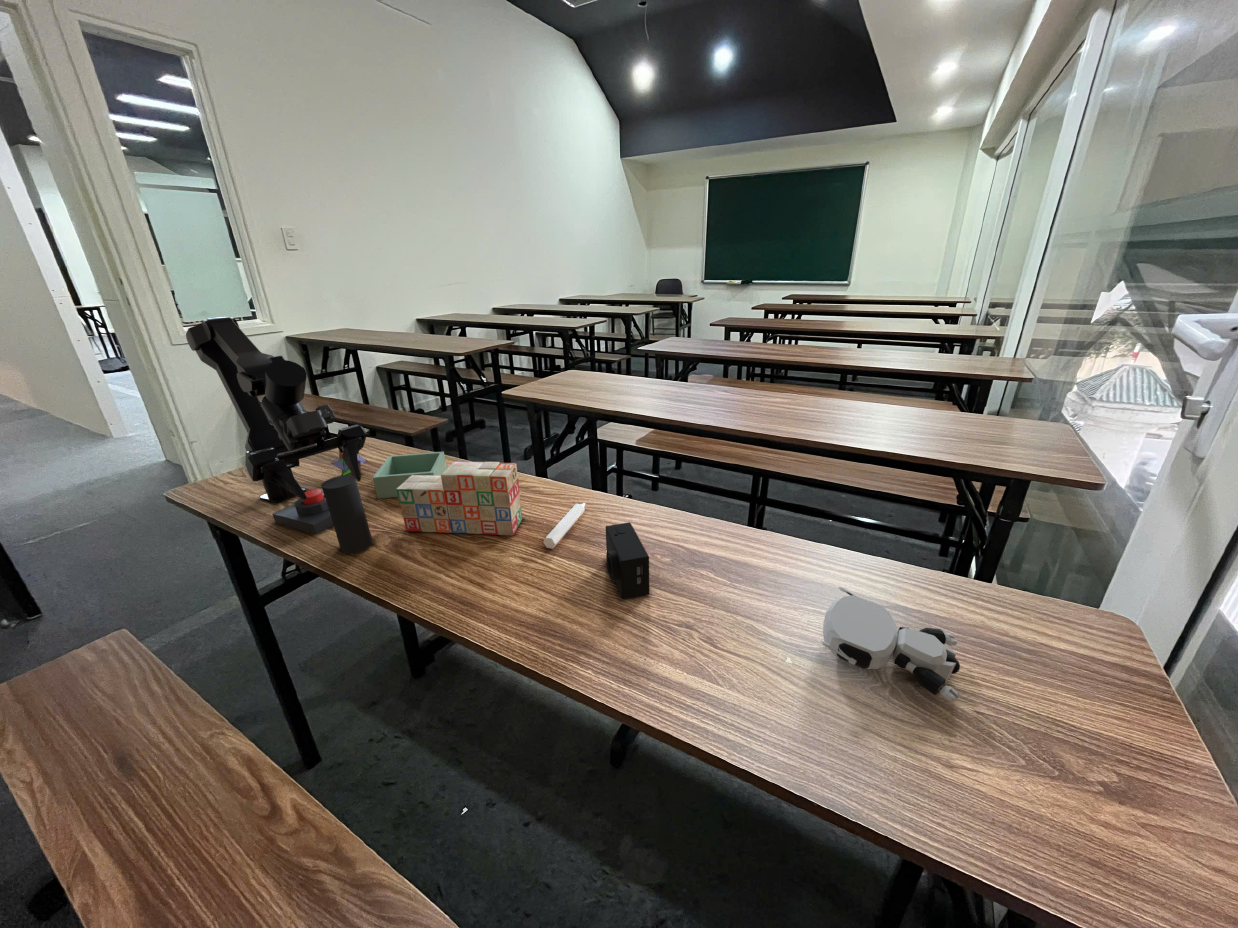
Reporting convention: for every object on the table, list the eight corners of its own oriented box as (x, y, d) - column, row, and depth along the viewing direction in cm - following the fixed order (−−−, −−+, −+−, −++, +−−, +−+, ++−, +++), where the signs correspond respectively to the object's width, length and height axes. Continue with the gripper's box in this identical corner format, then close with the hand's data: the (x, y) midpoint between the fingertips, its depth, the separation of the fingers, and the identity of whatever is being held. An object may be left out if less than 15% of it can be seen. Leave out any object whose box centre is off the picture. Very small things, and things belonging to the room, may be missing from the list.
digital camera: (599, 562, 81) (598, 526, 78) (630, 556, 82) (630, 521, 79) (614, 601, 71) (613, 562, 69) (649, 594, 73) (649, 555, 70)
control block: (275, 523, 96) (269, 505, 94) (321, 501, 104) (316, 484, 103) (316, 534, 91) (310, 516, 90) (360, 510, 100) (355, 493, 98)
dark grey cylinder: (334, 550, 86) (314, 485, 81) (359, 536, 91) (341, 473, 85) (355, 556, 84) (335, 490, 79) (379, 541, 89) (362, 477, 83)
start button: (299, 503, 96) (296, 495, 95) (316, 495, 99) (313, 488, 98) (311, 506, 94) (309, 498, 94) (328, 498, 97) (325, 491, 97)
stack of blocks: (405, 532, 91) (391, 473, 86) (420, 516, 97) (408, 460, 92) (514, 535, 89) (506, 475, 84) (523, 518, 95) (516, 461, 90)
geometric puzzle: (378, 463, 118) (357, 436, 117) (354, 474, 112) (332, 446, 111) (365, 476, 121) (345, 450, 121) (341, 487, 116) (320, 460, 115)
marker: (586, 510, 99) (551, 551, 85) (577, 504, 99) (541, 544, 85) (591, 501, 98) (557, 541, 84) (583, 495, 98) (547, 534, 84)
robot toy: (951, 651, 62) (829, 605, 69) (963, 625, 60) (836, 580, 67) (952, 724, 52) (810, 663, 59) (966, 696, 50) (818, 636, 57)
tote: (377, 498, 105) (372, 477, 103) (393, 475, 116) (389, 455, 114) (437, 493, 106) (433, 472, 104) (447, 470, 118) (443, 451, 116)
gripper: (228, 406, 75) (276, 487, 73) (349, 382, 88) (393, 450, 86) (230, 443, 83) (273, 517, 81) (341, 416, 96) (381, 479, 94)
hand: (333, 489), depth 85 cm, fingers open, 9 cm apart
